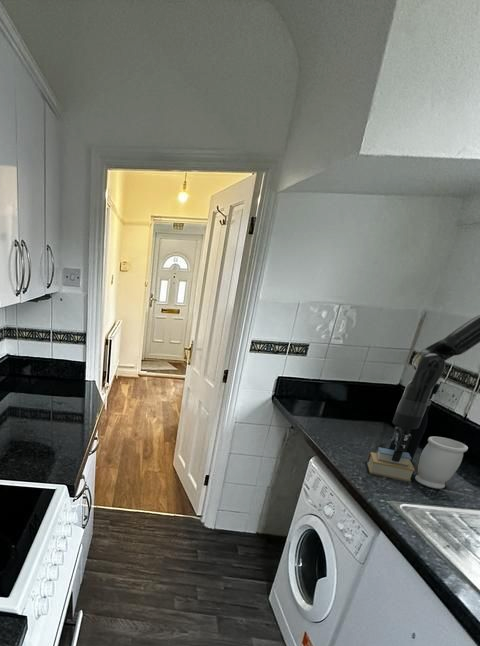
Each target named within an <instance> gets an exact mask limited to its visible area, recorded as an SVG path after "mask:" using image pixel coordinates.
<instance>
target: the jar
mask: <svg viewBox="0 0 480 646" xmlns="http://www.w3.org/2000/svg"><path fill="white" fill-rule="evenodd" d="M468 449H469V447H468V445H466V444H465V443H463V442H461V441H458V440H455V439H452V438H448V437H442V436H435V435H433V436H429V437H428V438H427V444H425V447H424V448H423V449H422V452H421V453H420V456H419V460H418V461H419V462H418V464H417V475H415V476H414V480H416V482H417V483H419V484H421V485H423V486H426V487H428V488H432V489H444V488H445V487H446V483H447V482H448V481H449V480H450V479H452V477H453V476H454V475H455V473H456V472H457V471H458V469H459V468H460V466H461V464H462V461H463V458H464V453H466V452H467V451H468Z"/></svg>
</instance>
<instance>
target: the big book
mask: <svg viewBox="0 0 480 646" xmlns="http://www.w3.org/2000/svg"><path fill="white" fill-rule="evenodd" d="M376 453H377V452H374V451H370V453H369V455H368V458H367V461H366V464H367V468H368V472H369V474H371V475H376V476H380V477H386V478H392V479H396V480H400V481H405V482H409V483H410V482H411V481H412V480H411V478H412V476H413V474H414V472H415V471H416V469H415V467H414V465H413V463H412V462H411V461H409V463H408V465H409V466H404V465H399V464H394V463H389V462H384V461H379V460H378V459H377V456H376Z"/></svg>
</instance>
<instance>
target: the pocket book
mask: <svg viewBox="0 0 480 646" xmlns="http://www.w3.org/2000/svg"><path fill="white" fill-rule="evenodd" d="M394 451H395V450H391V449H389V448H387V447H386V448H385V447H381V446H379V447H378V448H377V450H376V452H375V453H376V456H377V459H378V460H379V461H384V462H389V463H394V464H399V465H404V466H409V465H408V463H409V461H410V459H412V458H411V457H410V455H409V453H407V452H403V453H402V456H401V458H400V461H399V462H395V461H392V456H393V454H394ZM412 460H413V459H412Z"/></svg>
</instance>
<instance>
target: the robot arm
mask: <svg viewBox="0 0 480 646" xmlns="http://www.w3.org/2000/svg"><path fill="white" fill-rule="evenodd" d="M479 344H480V314H478V315H476V316H474V317H472V318H471V319H469V320H468V321H466V322H465V323H463V324H461V325H460V326H458V328H456V329H454V330H453V331H452V332H451V333H449V334H448V335H446V336H445V337H444V338H442V339H440V340H438V341H436V342H434V343H433V344H431V345H429V346H427V347H425V348H424V349H422V350H421V351H419V352H418V353H417V354H415V355H414V357H413V359H412V360H411V361H412V362H411V364H412V368H413V369H414V370H415V373H414V375H413V377H412V379H411V380H410V381H409V382H407V384H406V386H405V388H404V391H403V393H402V396H401V399H400V401H399V403H398V404H397V408H396V410H395V413H394V415H393V419H392V422H391V423H392V424H393V425H394V427H393V430H392V433H391V436H390V445H389V448H388V449H391V450H395V451H394V454H393V456H392V461H395V462H399V461H400V458H401V456H402V453H403V452H406V450H407V447H408V444H409V442H410V439H411V433H409V432H410V430H411V429H417V428H419V426H420V423H421V421H422V418H423V416H424V413H425V411H426V407H427V403H428V400H430V399H429V398H430V395H431V392H432V389H433V387H434V386H435V385H436V383H437V384H438V382H439V380H440V378H441V377H442V375H443V374H444V371H445V368H446V361H447V360H449V359H452V357H454V356H455V357H456V356H460V355H463V354H465V353H467V352H468V351H469V350H471V349H472V348H474V347H475V346H477V345H479ZM401 445H402V446H403V447H402V448H400V446H401Z"/></svg>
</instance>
